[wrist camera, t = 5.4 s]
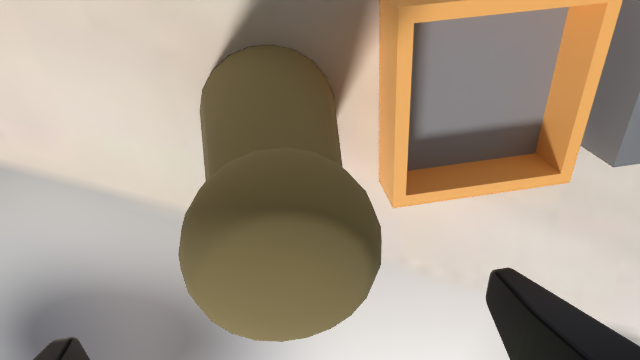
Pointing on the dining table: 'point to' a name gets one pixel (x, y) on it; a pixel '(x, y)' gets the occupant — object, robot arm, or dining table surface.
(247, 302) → the olive vase
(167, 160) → the dining table surface
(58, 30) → the dining table surface
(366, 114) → the dining table surface
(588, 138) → the breaker box
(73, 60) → the dining table surface
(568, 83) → the orange square tray
